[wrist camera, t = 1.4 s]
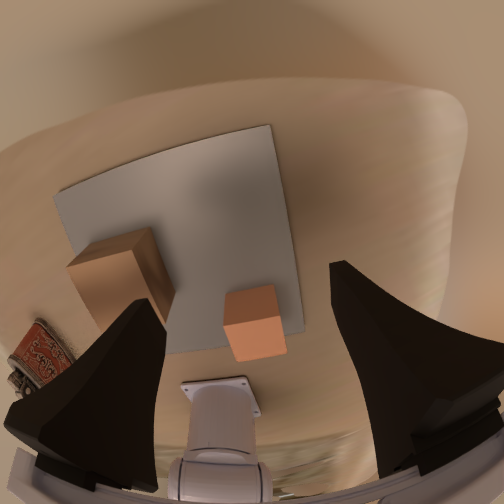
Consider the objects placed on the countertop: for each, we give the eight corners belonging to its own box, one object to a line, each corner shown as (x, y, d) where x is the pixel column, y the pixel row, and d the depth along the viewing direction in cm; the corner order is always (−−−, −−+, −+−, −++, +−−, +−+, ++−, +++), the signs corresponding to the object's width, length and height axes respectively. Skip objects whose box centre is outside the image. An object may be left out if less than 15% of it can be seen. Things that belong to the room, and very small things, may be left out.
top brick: (281, 320, 24) (287, 353, 20) (237, 329, 24) (237, 362, 20) (273, 284, 22) (279, 315, 18) (225, 293, 22) (223, 326, 18)
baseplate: (303, 324, 25) (305, 331, 24) (135, 350, 26) (132, 356, 25) (268, 124, 17) (269, 124, 16) (58, 192, 18) (52, 196, 18)
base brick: (175, 292, 22) (165, 323, 18) (117, 302, 22) (101, 331, 19) (149, 226, 19) (131, 249, 16) (89, 244, 20) (65, 267, 16)
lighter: (31, 319, 25) (-7, 374, 16) (44, 315, 24) (4, 374, 15) (66, 364, 28) (39, 420, 19) (81, 363, 28) (54, 423, 19)
